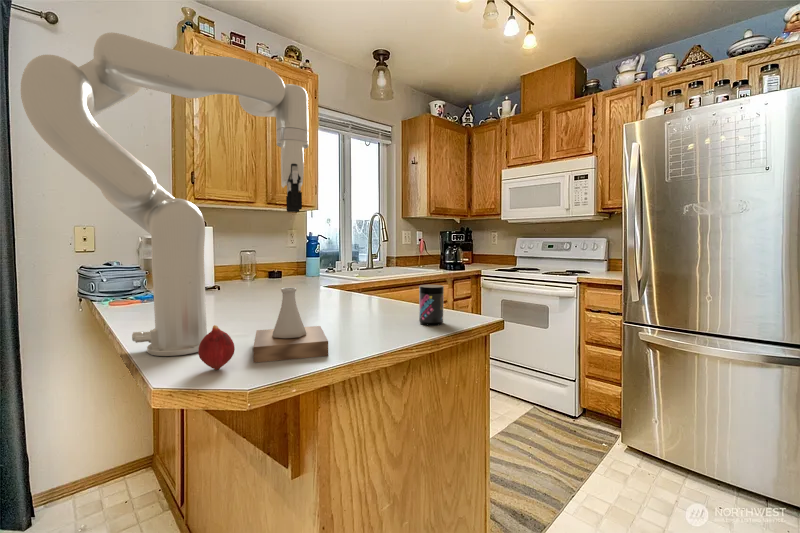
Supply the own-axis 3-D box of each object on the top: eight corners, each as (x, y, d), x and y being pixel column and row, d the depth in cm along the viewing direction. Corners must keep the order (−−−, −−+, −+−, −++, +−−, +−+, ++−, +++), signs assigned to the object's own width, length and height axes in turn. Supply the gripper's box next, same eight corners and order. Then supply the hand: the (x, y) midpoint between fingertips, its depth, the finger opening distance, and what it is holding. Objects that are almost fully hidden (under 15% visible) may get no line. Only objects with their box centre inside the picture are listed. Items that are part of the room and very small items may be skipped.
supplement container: (418, 320, 110) (418, 284, 109) (441, 320, 110) (442, 284, 109) (419, 326, 103) (419, 287, 103) (444, 326, 103) (445, 287, 103)
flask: (302, 339, 78) (301, 290, 77) (266, 339, 78) (265, 290, 77) (310, 331, 85) (309, 286, 84) (277, 331, 85) (276, 286, 84)
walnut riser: (253, 362, 73) (253, 347, 73) (256, 343, 86) (256, 330, 86) (328, 355, 77) (328, 340, 77) (320, 338, 91) (320, 325, 90)
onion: (242, 366, 71) (240, 323, 70) (217, 376, 66) (216, 330, 65) (217, 362, 73) (215, 321, 72) (191, 372, 67) (189, 327, 67)
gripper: (276, 146, 101) (277, 212, 102) (276, 129, 85) (278, 207, 86) (305, 148, 103) (306, 213, 105) (311, 131, 87) (312, 208, 88)
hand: (294, 210), depth 95 cm, fingers open, 9 cm apart
